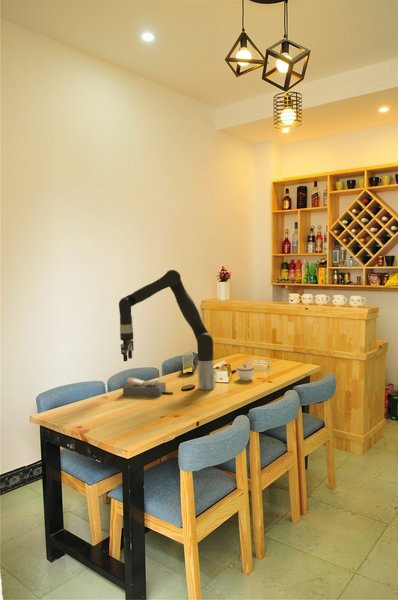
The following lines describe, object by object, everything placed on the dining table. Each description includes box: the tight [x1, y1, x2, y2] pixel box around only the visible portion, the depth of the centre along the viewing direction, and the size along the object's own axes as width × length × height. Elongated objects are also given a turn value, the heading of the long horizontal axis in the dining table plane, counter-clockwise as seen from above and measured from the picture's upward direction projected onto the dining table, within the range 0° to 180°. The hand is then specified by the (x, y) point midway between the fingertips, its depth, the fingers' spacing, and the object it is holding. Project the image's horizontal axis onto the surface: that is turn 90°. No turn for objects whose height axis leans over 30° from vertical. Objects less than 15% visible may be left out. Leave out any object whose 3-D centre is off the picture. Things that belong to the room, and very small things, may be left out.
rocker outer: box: [126, 376, 146, 385], centre depth 265 cm, size 9×6×2 cm, turn 78°
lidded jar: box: [236, 364, 255, 382], centre depth 287 cm, size 11×11×9 cm
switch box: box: [122, 381, 174, 398], centre depth 264 cm, size 28×12×5 cm, turn 78°
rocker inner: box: [144, 377, 162, 385], centre depth 263 cm, size 9×6×2 cm, turn 77°
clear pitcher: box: [181, 351, 198, 373], centre depth 318 cm, size 10×28×10 cm, turn 174°
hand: (127, 359), depth 265 cm, fingers open, 7 cm apart
